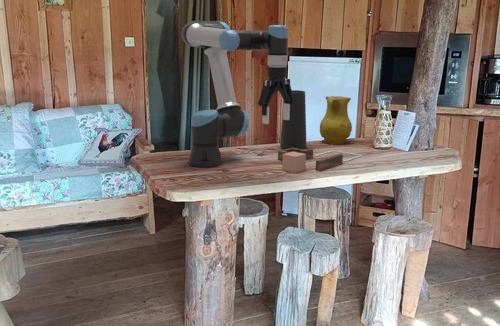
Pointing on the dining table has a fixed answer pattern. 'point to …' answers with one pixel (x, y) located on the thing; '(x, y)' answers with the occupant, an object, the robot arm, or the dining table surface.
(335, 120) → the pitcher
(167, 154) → the dining table surface
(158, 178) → the dining table surface
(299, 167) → the block
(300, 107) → the tapered dark column
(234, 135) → the robot arm
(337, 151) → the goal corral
